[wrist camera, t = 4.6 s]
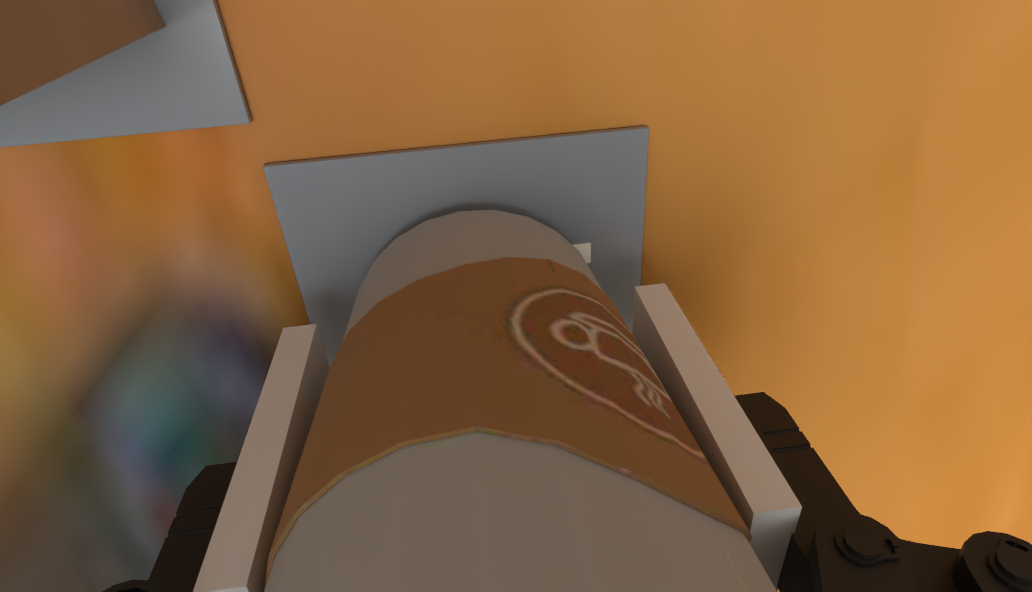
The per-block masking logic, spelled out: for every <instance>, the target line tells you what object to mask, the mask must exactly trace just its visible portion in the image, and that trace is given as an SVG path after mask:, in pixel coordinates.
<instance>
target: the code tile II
mask: <svg viewBox="0 0 1032 592" xmlns="http://www.w3.org/2000/svg"><path fill="white" fill-rule="evenodd" d="M153 2H154V3H155V5H156V7H157V9H158V11H159V13H160V15H161V17H162V19H163V21H164V23H165V25H166V27H164V28H162V29H160V30H158V31H155V32H153V33H151V34H149V35H147V36H145V37H143V38H141V39H139V40H137V41H135V42H133V43H130V44H128V45H126V46H124V47H122V48H120V49H118V50H116V51H114V52H112V53H110V54H108V55H105V56H103V57H101V58H99V59H97V60H95V61H93V62H91V63H89V64H87V65H85V66H83V67H80V68H78V69H76V70H74V71H72V72H70V73H68V74H66V75H64V76H62V77H60V78H58V79H55V80H53V81H51V82H49V83H47V84H45V85H43V86H41V87H39V88H37V89H35V90H33V91H30V92H28V93H26V94H24V95H22V96H20V97H18V98H16V99H14V100H12V101H10V102H8V103H5V104H3V105H1V106H0V147H9V146H19V145H30V144H40V143H51V142H61V141H71V140H82V139H92V138H103V137H113V136H124V135H134V134H144V133H155V132H165V131H176V130H186V129H196V128H207V127H217V126H228V125H238V124H249V123H251V121H252V119H251V116H250V112H249V109H248V106H247V102H246V99H245V96H244V92H243V89H242V85H241V82H240V79H239V75H238V72H237V69H236V65H235V62H234V59H233V55H232V52H231V49H230V45H229V42H228V39H227V35H226V32H225V28H224V25H223V22H222V18H221V15H220V12H219V8H218V5H217V2H216V0H153Z"/></svg>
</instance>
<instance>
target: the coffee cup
mask: <svg viewBox="0 0 1032 592" xmlns="http://www.w3.org/2000/svg"><path fill="white" fill-rule="evenodd" d="M751 539H752V535H751V534H750V532H749V530H748V528H747V526H746V525H745V523H744V521H743V520H742V518H741V516H740V514H739V513H738V511H737V509H736V508H735V506H734V504H733V503H732V501H731V499H730V498H729V496H728V494H727V493H726V491H725V489H724V488H723V486H722V484H721V483H720V481H719V479H718V478H717V476H716V474H715V472H714V471H713V469H712V467H711V466H710V464H709V462H708V461H707V459H706V457H705V456H704V454H703V452H702V451H701V449H700V447H699V446H698V444H697V442H696V441H695V439H694V437H693V435H692V434H691V432H690V430H689V429H688V427H687V425H686V424H685V422H684V420H683V419H682V417H681V415H680V414H679V412H678V410H677V409H676V407H675V405H674V404H673V402H672V400H671V399H670V397H669V395H668V393H667V392H666V390H665V388H664V387H663V385H662V383H661V382H660V380H659V378H658V377H657V375H656V373H655V372H654V370H653V368H652V367H651V365H650V363H649V362H648V360H647V358H646V356H645V355H644V353H643V351H642V350H641V348H640V346H639V345H638V343H637V341H636V340H635V338H634V336H633V335H632V333H631V331H630V330H629V328H628V326H627V325H626V323H625V321H624V320H623V318H622V316H621V314H620V313H619V311H618V309H617V308H616V306H615V304H614V303H613V301H612V300H611V299H610V298H609V297H608V296H607V295H606V294H605V293H604V292H603V290H602V289H601V287H600V285H599V284H598V282H597V280H596V278H595V277H594V275H593V273H592V272H591V270H590V268H589V267H588V265H587V263H586V262H585V260H584V258H583V257H582V255H581V253H580V252H579V251H578V250H577V249H576V248H575V247H574V246H573V245H572V244H571V243H569V242H568V241H567V240H566V239H565V238H564V237H563V236H562V235H561V234H559V233H558V232H557V231H555V230H553V229H551V228H549V227H547V226H545V225H543V224H541V223H539V222H537V221H535V220H534V219H532V218H530V217H526V216H522V215H517V214H512V213H508V212H503V211H498V210H476V211H458V212H455V213H451V214H448V215H444V216H441V217H437V218H434V219H430V220H427V221H424V222H423V223H421V224H419V225H418V226H416V227H414V228H412V229H411V230H409V231H407V232H406V233H404V234H402V235H400V236H399V237H397V238H396V239H395V240H394V241H393V242H392V243H391V244H390V245H389V246H388V247H387V248H386V249H385V250H384V251H383V252H382V253H381V254H380V255H379V256H378V257H377V258H376V259H375V260H374V261H373V263H372V265H371V267H370V269H369V270H368V272H367V274H366V276H365V278H364V280H363V282H362V284H361V286H360V288H359V291H358V294H357V297H356V300H355V304H354V307H353V310H352V313H351V316H350V320H349V323H348V326H347V329H346V332H345V336H344V339H343V342H342V345H341V346H340V348H339V350H338V352H337V354H336V356H335V358H334V359H333V361H332V363H331V366H330V369H329V372H328V375H327V378H326V381H325V384H324V387H323V390H322V393H321V396H320V400H319V403H318V406H317V409H316V412H315V415H314V418H313V421H312V424H311V427H310V430H309V433H308V436H307V439H306V442H305V445H304V449H303V452H302V455H301V458H300V461H299V464H298V467H297V470H296V473H295V476H294V479H293V482H292V485H291V488H290V491H289V494H288V498H287V501H286V504H285V507H284V510H283V513H282V516H281V519H280V522H279V525H278V528H277V531H276V534H275V537H274V540H273V544H272V547H271V550H270V553H269V556H268V564H267V573H266V582H265V591H264V592H777V590H776V588H775V587H774V585H773V583H772V582H771V580H770V578H769V576H768V575H767V573H766V571H765V569H764V568H763V566H762V564H761V563H760V561H759V559H758V557H757V556H756V554H755V552H754V551H753V549H752V547H751V545H750V544H749V542H750V541H751Z"/></svg>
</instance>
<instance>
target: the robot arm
mask: <svg viewBox="0 0 1032 592" xmlns="http://www.w3.org/2000/svg"><path fill="white" fill-rule="evenodd" d="M632 335H633V336H634V338H635V340H636V341H637V343H638V345H639V346H640V348H641V350H642V351H643V353H644V355H645V356H646V358H647V360H648V362H649V363H650V365H651V367H652V368H653V370H654V372H655V373H656V375H657V377H658V378H659V380H660V382H661V383H662V385H663V387H664V388H665V390H666V392H667V393H668V395H669V397H670V399H671V400H672V402H673V404H674V405H675V407H676V409H677V410H678V412H679V414H680V415H681V417H682V419H683V420H684V422H685V424H686V425H687V427H688V429H689V430H690V432H691V434H692V435H693V437H694V439H695V441H696V442H697V444H698V446H699V447H700V449H701V451H702V452H703V454H704V456H705V457H706V459H707V461H708V462H709V464H710V466H711V467H712V469H713V471H714V472H715V474H716V476H717V478H718V479H719V481H720V483H721V484H722V486H723V488H724V489H725V491H726V493H727V494H728V496H729V498H730V499H731V501H732V503H733V504H734V506H735V508H736V509H737V511H738V513H739V514H740V516H741V518H742V520H743V521H744V523H745V525H746V526H747V528H748V530H749V532H750V534H751V535H752V539H751V541H750V542H749V544H750V545H751V547H752V549H753V551H754V552H755V554H756V556H757V557H758V559H759V561H760V563H761V564H762V566H763V568H764V569H765V571H766V573H767V575H768V576H769V578H770V580H771V582H772V583H773V585H774V587H775V588H776V590H777V591H778V589H779V591H780V592H1032V545H1031V544H1030V543H1028V542H1027V541H1024V540H1022V539H1019V538H1016V537H1014V536H1011V535H1009V534H1005V533H997V532H990V531H987V532H982V533H977V534H973V535H972V536H971V537H970V538H969V539H968V540H966V541H965V542H964V544H963V546H962V548H961V549H955V548H948V547H941V546H935V545H928V544H921V543H915V542H911V541H906V540H902V539H899V538H897V537H896V536H895V534H894V533H893V532H892V531H891V530H890V529H889V528H888V527H886V526H884V525H883V524H881V523H879V522H878V521H876V520H874V519H872V518H870V517H867V516H864V515H861V514H860V513H859V512H858V511H857V510H856V508H855V507H854V506H853V505H852V503H851V502H850V500H849V499H848V497H847V496H846V495H845V493H844V492H843V490H842V489H841V487H840V486H839V484H838V483H837V482H836V480H835V479H834V477H833V476H832V474H831V473H830V472H829V470H828V469H827V467H826V466H825V464H824V463H823V462H822V460H821V459H820V457H819V456H818V454H817V453H816V452H815V450H814V449H813V448H811V447H810V443H809V441H808V440H807V439H806V437H805V436H804V434H803V433H802V432H800V431H799V427H798V426H797V424H796V423H795V421H794V420H793V419H792V417H791V416H790V414H789V413H788V411H787V410H786V409H785V408H784V407H783V406H782V405H780V404H779V403H778V402H776V401H775V400H774V399H772V398H771V397H770V396H768V395H767V394H765V393H764V392H760V393H752V394H745V395H737V396H734V395H733V393H732V391H731V390H730V388H729V387H728V385H727V383H726V382H725V380H724V378H723V377H722V375H721V373H720V372H719V370H718V369H717V367H716V365H715V364H714V362H713V360H712V359H711V357H710V355H709V354H708V352H707V351H706V349H705V347H704V346H703V344H702V342H701V341H700V339H699V338H698V336H697V334H696V333H695V331H694V329H693V328H692V326H691V324H690V323H689V321H688V320H687V318H686V316H685V315H684V313H683V311H682V310H681V308H680V306H679V305H678V303H677V302H676V300H675V298H674V297H673V295H672V293H671V292H670V290H669V289H668V287H667V285H666V284H665V283H661V284H653V285H644V286H635V287H634V304H633V325H632ZM329 369H330V368H329V365H328V361H327V358H326V355H325V351H324V348H323V344H322V341H321V338H320V334H319V331H318V327H317V324H311V325H302V326H294V327H285V328H283V330H282V333H281V336H280V339H279V342H278V345H277V348H276V351H275V354H274V357H273V359H272V362H271V365H270V368H269V371H268V374H267V377H266V380H265V383H264V386H263V389H262V392H261V394H260V397H259V400H258V403H257V406H256V409H255V412H254V415H253V418H252V421H251V424H250V427H249V429H248V432H247V435H246V438H245V441H244V444H243V447H242V450H241V453H240V456H239V459H238V462H233V463H225V464H217V465H210V466H205V468H204V469H203V470H202V471H201V472H200V473H199V475H198V476H197V477H196V478H195V479H194V480H193V481H192V483H191V484H190V485H189V486H188V487H187V488H186V490H185V493H184V495H183V498H182V500H181V503H180V505H179V507H178V510H177V512H176V514H177V516H176V517H175V518H174V519H173V522H172V524H171V527H170V529H169V532H168V538H166V539H165V541H164V544H163V546H162V548H161V551H160V553H159V556H158V558H157V560H156V563H155V565H154V568H153V570H152V573H151V575H150V577H149V580H130V581H127V582H123V583H120V584H116V585H113V586H112V587H110V588H108V589H106V590H105V591H103V592H264V591H265V582H266V573H267V564H268V556H269V553H270V550H271V547H272V544H273V540H274V537H275V534H276V531H277V528H278V525H279V522H280V519H281V516H282V513H283V510H284V507H285V504H286V501H287V498H288V494H289V491H290V488H291V485H292V482H293V479H294V476H295V473H296V470H297V467H298V464H299V461H300V458H301V455H302V452H303V449H304V445H305V442H306V439H307V436H308V433H309V430H310V427H311V424H312V421H313V418H314V415H315V412H316V409H317V406H318V403H319V400H320V396H321V393H322V390H323V387H324V384H325V381H326V378H327V375H328V372H329Z"/></svg>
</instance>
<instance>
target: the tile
mask: <svg viewBox="0 0 1032 592" xmlns="http://www.w3.org/2000/svg"><path fill="white" fill-rule="evenodd" d="M648 139H649V127H648V126H647V125H645V126H635V127H625V128H615V129H605V130H595V131H585V132H575V133H565V134H556V135H546V136H536V137H526V138H516V139H506V140H496V141H486V142H476V143H466V144H456V145H446V146H436V147H426V148H416V149H406V150H396V151H386V152H376V153H366V154H356V155H346V156H336V157H326V158H316V159H306V160H296V161H286V162H276V163H266V164H264V166H263V169H264V172H265V176H266V179H267V182H268V186H269V189H270V192H271V195H272V199H273V202H274V205H275V209H276V212H277V215H278V219H279V222H280V225H281V229H282V232H283V235H284V239H285V242H286V245H287V249H288V252H289V255H290V259H291V262H292V265H293V269H294V272H295V275H296V279H297V282H298V285H299V289H300V292H301V295H302V298H303V302H304V305H305V308H306V312H307V315H308V318H309V322H310V325H311V324H317V327H318V331H319V334H320V338H321V341H322V344H323V348H324V351H325V355H326V358H327V361H328V365H329V368H330V366H331V363H332V361H333V359H334V358H335V356H336V354H337V352H338V350H339V348H340V346H341V345H342V342H343V339H344V336H345V332H346V329H347V326H348V323H349V320H350V316H351V313H352V310H353V307H354V304H355V300H356V297H357V294H358V291H359V288H360V286H361V284H362V282H363V280H364V278H365V276H366V274H367V272H368V270H369V269H370V267H371V265H372V263H373V261H374V260H375V259H376V258H377V257H378V256H379V255H380V254H381V253H382V252H383V251H384V250H385V249H386V248H387V247H388V246H389V245H390V244H391V243H392V242H393V241H394V240H395V239H396V238H397V237H399V236H400V235H402V234H404V233H406V232H407V231H409V230H411V229H412V228H414V227H416V226H418V225H419V224H421V223H423V222H424V221H427V220H430V219H434V218H437V217H441V216H444V215H448V214H451V213H455V212H458V211H476V210H498V211H503V212H508V213H512V214H517V215H522V216H526V217H530V218H532V219H534V220H535V221H537V222H539V223H541V224H543V225H545V226H547V227H549V228H551V229H553V230H555V231H557V232H558V233H559V234H561V235H562V236H563V237H564V238H565V239H566V240H567V241H568V242H569V243H571V244H572V245H573V246H574V247H575V248H576V249H577V250H578V251H579V252H580V253H581V255H582V257H583V258H584V260H585V262H586V263H587V265H588V267H589V268H590V270H591V272H592V273H593V275H594V277H595V278H596V280H597V282H598V284H599V285H600V287H601V289H602V290H603V292H604V293H605V294H606V295H607V296H608V297H609V298H610V299H611V300H612V301H613V303H614V304H615V306H616V308H617V309H618V311H619V313H620V314H621V316H622V318H623V320H624V321H625V323H626V325H627V326H628V328H629V330H630V331H631V333H632V325H633V304H634V287H635V286H640V282H641V264H642V246H643V228H644V210H645V193H646V175H647V157H648Z"/></svg>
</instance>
